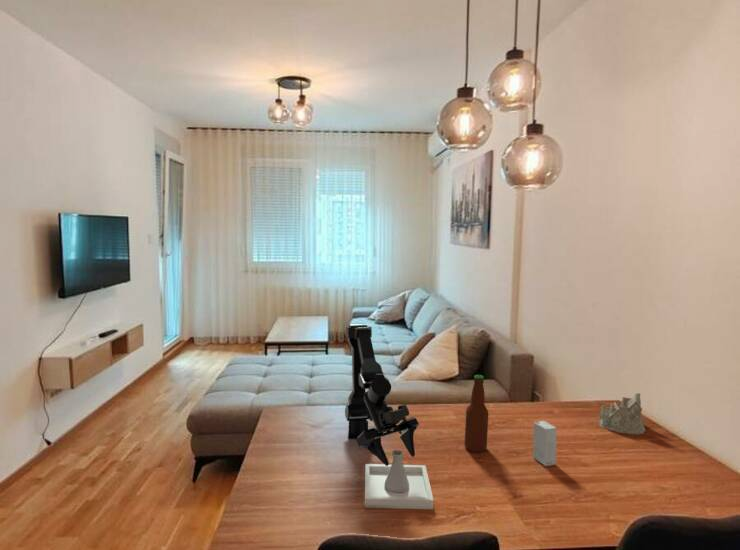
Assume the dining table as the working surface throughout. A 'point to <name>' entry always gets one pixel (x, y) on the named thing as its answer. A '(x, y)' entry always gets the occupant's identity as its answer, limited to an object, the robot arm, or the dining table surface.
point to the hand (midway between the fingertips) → (401, 460)
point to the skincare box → (544, 443)
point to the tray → (410, 499)
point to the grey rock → (623, 416)
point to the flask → (397, 474)
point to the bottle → (476, 418)
